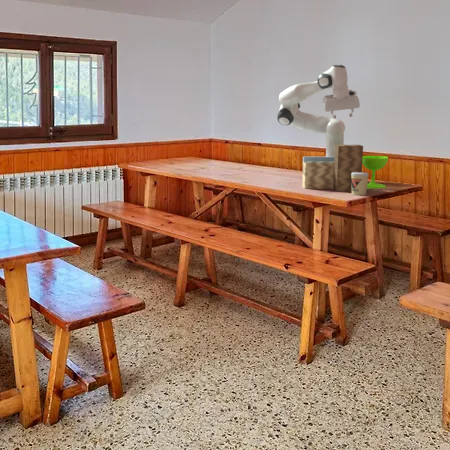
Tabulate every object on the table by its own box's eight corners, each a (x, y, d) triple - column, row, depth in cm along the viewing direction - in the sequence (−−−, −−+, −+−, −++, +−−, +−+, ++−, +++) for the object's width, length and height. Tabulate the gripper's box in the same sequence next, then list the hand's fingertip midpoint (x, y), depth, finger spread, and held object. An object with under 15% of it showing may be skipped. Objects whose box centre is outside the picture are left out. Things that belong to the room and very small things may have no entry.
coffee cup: (346, 193, 337) (347, 172, 335) (359, 192, 342) (360, 171, 340) (358, 196, 329) (359, 174, 327) (370, 194, 334) (372, 173, 332)
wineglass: (355, 187, 362) (357, 157, 358) (364, 184, 376) (365, 155, 372) (381, 189, 354) (383, 158, 350) (389, 186, 368) (391, 156, 364)
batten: (303, 162, 355) (303, 157, 355) (302, 161, 358) (303, 156, 358) (335, 162, 356) (336, 157, 355) (334, 161, 359) (334, 156, 358)
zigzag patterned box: (304, 188, 355) (305, 161, 352) (302, 186, 365) (302, 159, 362) (345, 188, 356) (346, 161, 353) (341, 186, 366) (342, 159, 362)
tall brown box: (336, 191, 345) (338, 145, 340) (333, 189, 354) (335, 144, 349) (360, 191, 346) (363, 145, 341) (356, 189, 355) (359, 144, 349)
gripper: (322, 96, 346) (325, 120, 350) (359, 91, 343) (360, 116, 347) (322, 95, 352) (324, 119, 356) (357, 90, 350) (359, 114, 353)
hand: (342, 117), depth 352 cm, fingers open, 8 cm apart
